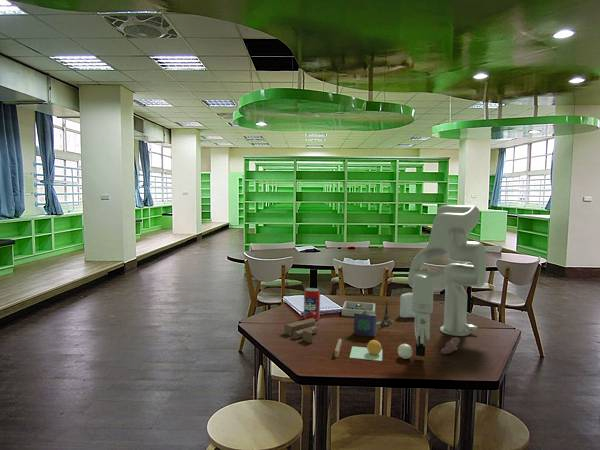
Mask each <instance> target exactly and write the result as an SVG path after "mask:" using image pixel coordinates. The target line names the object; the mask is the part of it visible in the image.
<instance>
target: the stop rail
mask: <svg viewBox="0 0 600 450" xmlns="http://www.w3.org/2000/svg"><path fill="white" fill-rule="evenodd" d="M342 345H343V339H342V338H338V340H337V343H336V346H335V349H334V354H333V355H334V356H333V357H334V358H338V357H339V354H340V352H341V348H342Z"/></svg>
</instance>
